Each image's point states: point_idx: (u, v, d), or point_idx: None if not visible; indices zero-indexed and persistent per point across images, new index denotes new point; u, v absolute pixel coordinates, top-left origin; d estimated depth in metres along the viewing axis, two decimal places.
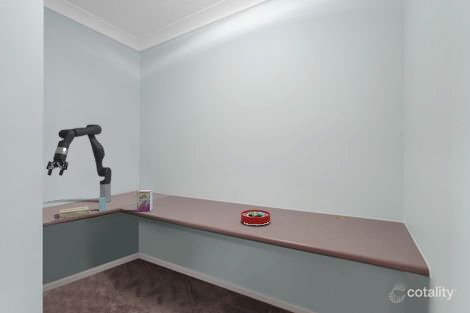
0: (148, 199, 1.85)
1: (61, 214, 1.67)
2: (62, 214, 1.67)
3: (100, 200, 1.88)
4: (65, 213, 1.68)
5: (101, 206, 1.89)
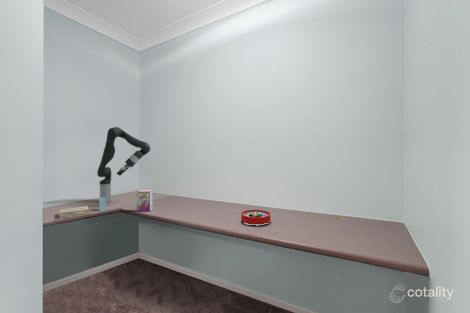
0: (148, 199, 1.85)
1: (61, 214, 1.67)
2: (62, 214, 1.67)
3: (100, 200, 1.88)
4: (65, 213, 1.68)
5: (101, 206, 1.89)
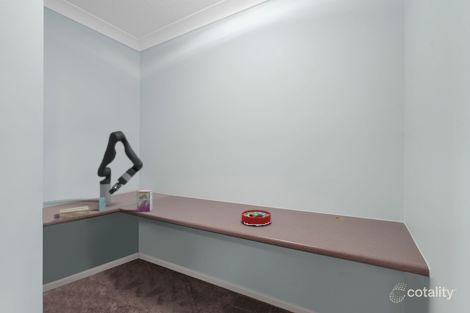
0: (148, 199, 1.85)
1: (61, 214, 1.67)
2: (62, 214, 1.67)
3: (100, 200, 1.88)
4: (65, 213, 1.68)
5: (101, 206, 1.89)
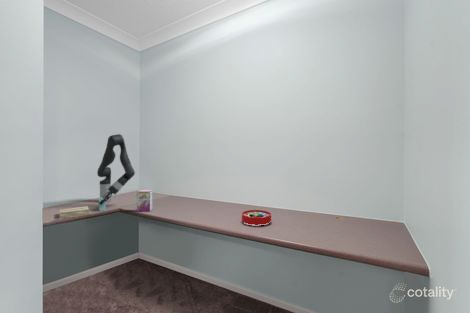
0: (148, 199, 1.85)
1: (61, 214, 1.67)
2: (62, 214, 1.67)
3: (100, 200, 1.88)
4: (65, 213, 1.68)
5: (101, 206, 1.89)
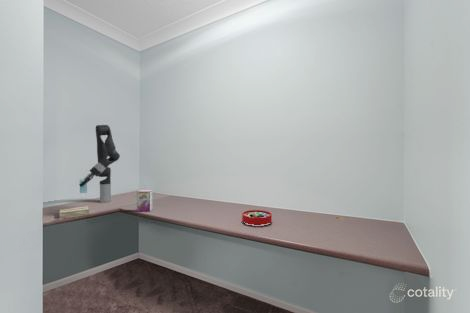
0: (148, 199, 1.85)
1: (61, 214, 1.67)
2: (62, 214, 1.67)
3: (81, 182, 1.78)
4: (65, 213, 1.68)
5: (82, 188, 1.79)
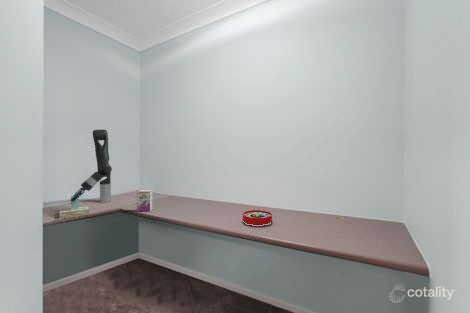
0: (148, 199, 1.86)
1: (61, 214, 1.67)
2: (62, 214, 1.67)
3: None
4: (65, 213, 1.68)
5: (73, 205, 1.75)
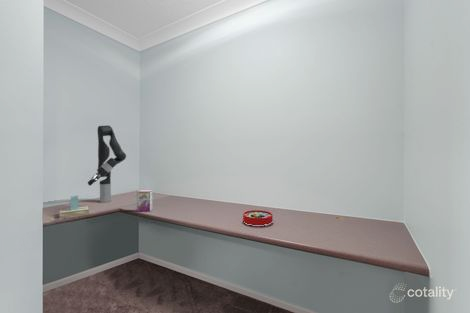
0: (148, 199, 1.86)
1: (61, 214, 1.67)
2: (62, 214, 1.67)
3: (72, 199, 1.75)
4: (65, 213, 1.68)
5: (73, 205, 1.75)
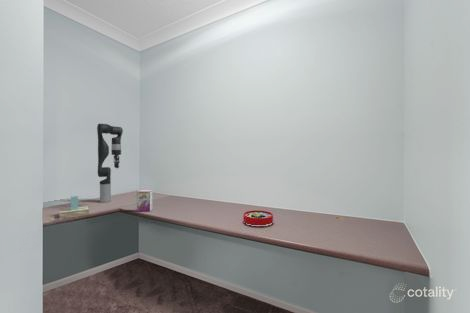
0: (148, 199, 1.86)
1: (61, 214, 1.67)
2: (62, 214, 1.67)
3: (72, 199, 1.75)
4: (65, 213, 1.68)
5: (73, 205, 1.75)
